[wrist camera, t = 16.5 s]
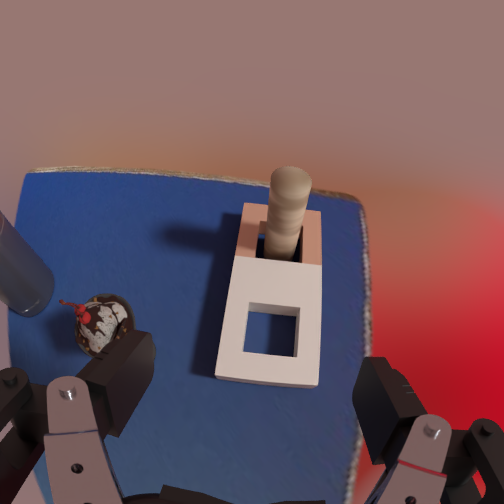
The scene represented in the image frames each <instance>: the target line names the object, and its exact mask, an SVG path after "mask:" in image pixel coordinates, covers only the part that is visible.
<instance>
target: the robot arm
mask: <svg viewBox="0 0 504 504" xmlns="http://www.w3.org/2000/svg"><path fill="white" fill-rule="evenodd" d="M53 288H54V277H53V274H52V272H51V270H50V269H49V268H48V267H47V266H46V265H45V264H44V263H43V260H42V259H41V258H40V257H39V256H38V255H37V254H36V253H35V252H34V250H33V249H32V248H31V247H30V246H29V245H28V243H27V242H26V241H25V240H24V239H23V238H22V236H21V235H20V234H19V233H18V231H17V230H16V229H15V228H14V227H13V226H12V225H11V224H10V223H9V222H8V220H7V219H6V217H5V216H4V215H3V214H2V212H1V211H0V300H1V301H2V302H4V303H5V304H6V305H8V306H9V307H10V308H12V309H13V310H14V311H16V312H17V313H18V314H20V315H22V316H24V317H32V316H34V315H37V314H38V313H39V312H41V311H42V310H43V309H44V308H45V307H46V305H47V304H48V302H49V300H50V298H51V296H52V293H53ZM153 373H154V359H153V344H152V335H151V333H148V332H143V331H139V330H134V329H131V330H130V331H129V332H128V333H127V334H126V335H125V336H124V337H123V338H122V339H116V340H114V341H111V342H109V343H107V344H106V345H105V346H104V347H103V348H102V349H101V350H100V352H98V353H97V354H96V355H95V356H94V358H92V359H91V361H90V362H89V363H88V364H87V365H86V366H85V367H84V368H83V369H82V370H81V371H80V372H79V373H78V374H77V375H76V376H75V377H73V376H64V377H59V378H57V379H55V380H53V381H52V382H51V383H50V384H49V385H48V386H44V385H38V384H32V383H30V382H29V379H28V376H27V374H26V372H25V371H24V370H22V369H19V368H14V367H11V368H5V369H3V370H1V371H0V432H1V431H2V429H3V428H4V427H5V426H6V424H7V423H8V422H9V421H11V423H12V425H13V427H12V428H11V430H10V431H9V432H8V433H7V434H6V436H5V437H4V438H3V439H2V441H1V442H0V504H11V503H12V501H13V500H14V498H15V496H16V495H17V493H18V491H19V490H20V488H21V486H22V485H23V483H24V482H25V480H26V478H27V477H28V475H29V474H30V472H31V471H32V469H33V467H34V466H35V464H36V463H37V461H38V460H39V458H40V457H41V455H42V454H43V452H44V451H45V455H46V462H47V469H48V475H49V481H50V487H51V492H52V496H53V501H54V504H232V503H229V502H226V501H223V500H220V499H218V498H215V497H212V496H209V495H207V494H204V493H200V492H195V491H190V490H185V489H180V488H176V487H171V486H167V485H163V487H162V490H161V493H160V494H159V493H149V494H138V495H132V496H128V497H124V494H123V492H122V490H121V487H120V485H119V483H118V480H117V478H116V475H115V472H114V469H113V467H112V464H111V461H110V458H109V455H108V452H107V449H106V446H105V443H104V439H105V437H106V435H107V434H109V435H112V436H115V437H118V438H119V436H120V434H121V432H122V431H123V429H124V427H125V425H126V424H127V422H128V420H129V419H130V417H131V415H132V413H133V412H134V410H135V408H136V406H137V405H138V403H139V401H140V400H141V398H142V396H143V394H144V393H145V391H146V389H147V388H148V386H149V384H150V383H151V381H152V378H153ZM352 401H353V406H354V408H355V411H356V414H357V417H358V420H359V423H360V426H361V430H362V433H363V436H364V439H365V442H366V445H367V448H368V451H369V455H370V458H371V461H372V464H373V465H377V464H385V466H386V469H385V471H384V472H383V473H382V475H381V477H380V479H379V480H378V482H377V484H376V486H375V487H374V489H373V490H372V492H371V494H370V495H369V497H368V498H367V500H366V502H365V503H364V504H439V501H440V502H441V504H504V432H503V431H502V429H501V428H500V427H499V425H498V424H497V423H495V422H494V421H492V420H489V419H484V418H482V419H477V420H475V421H474V422H473V423H472V425H471V427H470V428H469V430H453V429H451V427H450V425H449V423H448V422H447V421H446V420H444V419H443V418H441V417H439V416H436V415H431V414H428V413H427V411H426V410H425V408H424V407H423V405H422V403H421V402H420V400H419V398H418V397H417V395H416V394H415V393H414V390H413V389H412V387H411V386H410V384H409V382H408V381H407V379H406V378H405V377H404V376H403V375H402V374H401V373H400V372H398V371H397V370H396V369H392V368H391V366H390V364H389V363H388V361H387V360H386V358H385V357H365V358H364V360H363V362H362V365H361V368H360V371H359V374H358V377H357V380H356V383H355V386H354V389H353V394H352ZM477 470H478V471H479V472H480V475H481V476H482V479H483V481H484V483H485V485H486V492H485V495H484V497H483V498H481V495H480V493H479V491H478V489H477V486H476V484H475V482H474V480H473V478H472V476H473V475H474V474H475V473H476V472H477ZM271 504H326V503H325V500H321V501H284V502H278V503H271Z"/></svg>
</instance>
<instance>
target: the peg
mask: <svg viewBox="0 0 504 504" xmlns="http://www.w3.org/2000/svg"><path fill="white" fill-rule="evenodd" d="M311 184H312V180H311V178H310V176H309V175H308V174H307V173H306V172H305V171H304V170H302V169H299V168H297V167H291V166H286V167H281V168H278V169H276V170H275V171H274V172H273V173H272V175H271V182H270V192H269V202H268V212H267V222H266V232H265V242H264V251H263V255H264V258H265V259H270V260H278V261H287V262H291V261H292V259H293V256H294V252H295V249H296V245H297V241H298V237H299V233H300V229H301V225H302V221H303V217H304V213H305V209H306V205H307V201H308V197H309V193H310V189H311Z"/></svg>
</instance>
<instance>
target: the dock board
mask: <svg viewBox="0 0 504 504" xmlns="http://www.w3.org/2000/svg"><path fill="white" fill-rule="evenodd" d="M267 212H268V205H262V204H252V203H244V208H243V214H242V219H241V224H240V230H239V236H238V241H237V247H236V252H235V258H234V263H233V269H232V275H231V281H230V286H229V292H228V298H227V304H226V310H225V316H224V322H223V327H222V333H221V340H220V346H219V352H218V358H217V364H216V370H215V376H216V378H217V379H222V380H228V381H236V382H243V383H252V384H261V385H271V386H282V387H295V388H314V387H316V386H317V385H318V376H319V358H320V336H321V296H322V251H321V212H320V211H312V210H305V213H304V217H303V221H302V225H301V229H300V233H299V237H298V238H300V251H299V263H296V262H287V261H278V260H270V259H261V258H256V251H257V243H258V236H259V234H265V232H266V222H267ZM248 311H251V312H259V313H268V314H277V315H287V316H296V328H295V342H294V355H293V357H286V356H276V355H266V354H257V353H248V352H243V347H244V340H245V333H246V325H247V318H248Z"/></svg>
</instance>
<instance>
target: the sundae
mask: <svg viewBox="0 0 504 504" xmlns="http://www.w3.org/2000/svg"><path fill="white" fill-rule="evenodd" d="M59 302H60V303H61V304H62V305H70V306H72V307H74V308H75V314H76V315H77V317H76V324H75V337H76V343H77V344H78V345H79V346H80V348H81V349H82V350H83V351H84V353H85V354H87V355H88V356H90V357H92V358H94V356H95V355H96V354H97V353H98V352H100V350H101V349H102V348H103V347H104V346H105V345H106V344H107V343H109V342H111V341H114V340H116V339H122V338H123V337H124V336H125V335H126V334H127V333H128V332H129V331H130V330H131V329H134V330H136V324H135V316H134V313H133V310H132V308H131V306H130V304H129V303H128V302H127V301H126V300H125V299H124V298H122V297H120V296H118V295H115V294H99V295H96V296H94V297H92V298H91V299H89V300H88V301H87V302H86V303H85V305H83V304H79V305H77V304H74V303H65V302H64V301H63V300H59ZM71 304H72V305H71ZM73 305H75V306H76V307H75V306H73ZM152 344H153V359H155V356H156V348H155V345H154V343H153V341H152Z"/></svg>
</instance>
